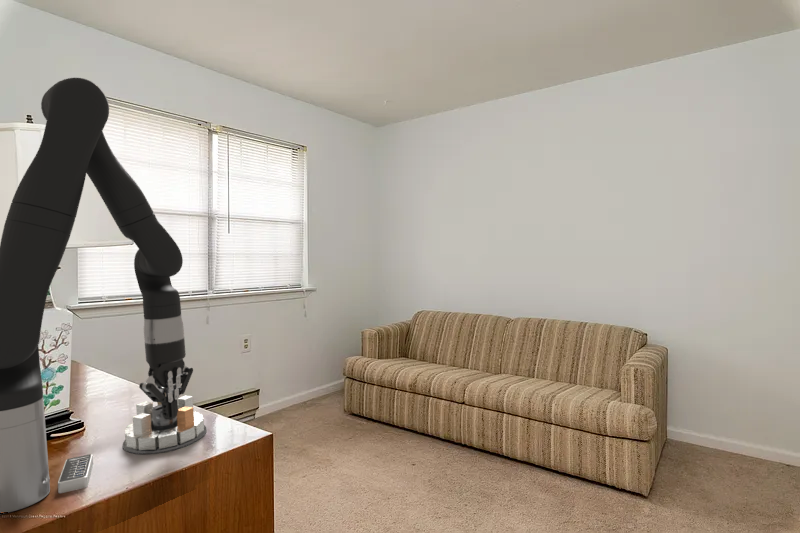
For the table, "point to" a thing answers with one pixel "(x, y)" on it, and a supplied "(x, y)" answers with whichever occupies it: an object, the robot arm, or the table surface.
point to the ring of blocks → (160, 425)
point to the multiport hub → (75, 473)
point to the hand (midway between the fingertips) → (170, 417)
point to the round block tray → (147, 439)
